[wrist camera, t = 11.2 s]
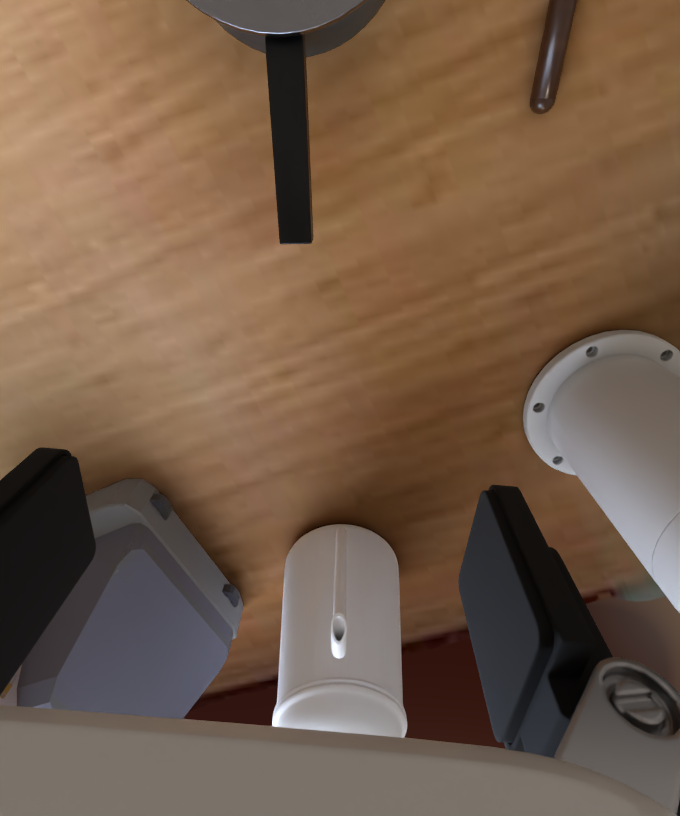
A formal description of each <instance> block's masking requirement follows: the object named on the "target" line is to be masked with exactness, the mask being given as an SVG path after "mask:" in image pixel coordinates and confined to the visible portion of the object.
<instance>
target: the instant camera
mask: <svg viewBox="0 0 680 816" xmlns="http://www.w3.org/2000/svg"><path fill="white" fill-rule="evenodd" d="M86 500H87V505H88V510H89V514H90V519H91V524H92V528H93V533H94V538H95V542H96V551H95V555H94V558H93V560H92V562H91V563H90V564H89V566H88V567H87V569H86V570H85V572H84V573H83V575H82V576H81V578H80V579H79V581H78V582H77V584H76V585H75V587H74V588H73V589H72V591H71V592H70V594H69V595H68V597H67V598H66V600H65V601H64V603H63V604H62V606H61V607H60V609H59V610H58V611H57V613H56V614H55V616H54V617H53V619H52V620H51V622H50V623H49V625H48V626H47V628H46V629H45V631H44V632H43V634H42V635H41V636H40V638H39V639H38V641H37V642H36V644H35V645H34V647H33V648H32V650H31V651H30V653H29V654H28V656H27V657H26V659H25V660H24V661H23V663H22V664H21V666H20V667H19V669H18V670H17V672H16V673H15V675H14V676H13V678H12V679H11V681H10V682H9V684H8V685H7V686H6V688H5V689H4V691H3V692H2V693H1V695H0V705H7V706H21V707H34V708H47V709H61V710H74V711H87V712H100V713H114V714H126V715H139V716H151V717H164V718H176V719H183V718H184V716H185V715H186V714H187V713H188V711H189V710H190V709H191V707H192V706H193V705H194V704H195V702H196V701H197V700H198V698H199V697H200V696H201V694H202V693H203V692H204V691H205V689H206V688H207V687H208V685H209V684H210V683H211V682H212V680H213V679H214V678H215V676H216V675H217V674H218V673H219V671H220V670H221V668H222V666H223V664H224V662H225V661H226V659H227V657H228V653H229V649H230V646H231V642H232V639H234V638H236V636H237V632H238V628H239V624H240V620H241V615H242V611H243V604H242V598H241V597H240V593H239V591H238V590H237V589H236V587H235V586H233V585H232V584H230V583H229V581H228V580H227V579H226V578H225V576H224V575H223V574H222V572H221V571H220V570H219V569H218V567H217V566H216V565H215V563H214V562H213V561H212V560H211V558H210V557H209V556H208V554H207V553H206V552H205V551H204V549H203V548H202V547H201V545H200V544H199V543H198V542H197V540H196V539H195V538H194V536H193V535H192V534H191V533H190V531H189V530H188V529H187V527H186V526H185V525H184V524H183V522H182V521H181V520H180V518H179V517H178V516H177V515H176V513H175V512H174V511H173V509H172V505H171V503H170V502H169V501H168V499H167V498H166V497H165V496H164V495H162V494H160V493H159V491H158V490H157V489H156V488H155V487H154V486H152V485H151V484H149V483H148V482H146V481H145V480H143V479H124V480H122V481H119V482H117V483H115V484H112V485H110V486H108V487H105V488H103V489H100V490H98V491H96V492H93V493H91V494H89V495H86Z"/></svg>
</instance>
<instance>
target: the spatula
mask: <svg viewBox="0 0 680 816" xmlns="http://www.w3.org/2000/svg"><path fill="white" fill-rule="evenodd" d="M576 3H577V0H550V2H549V7H548V12H547V17H546V23H545V28H544V33H543V38H542V43H541V48H540V53H539V58H538V63H537V68H536V73H535V78H534V83H533V88H532V93H531V98H530V107H531V109H532V111H533V112H535V113H537V114H543V113H546V112H548V111H549V110H550V109H551V108H552V106H553V105H554V103H555V99H556V95H557V90H558V86H559V81H560V76H561V72H562V67H563V63H564V58H565V54H566V49H567V44H568V40H569V35H570V31H571V26H572V22H573V17H574V12H575V8H576Z"/></svg>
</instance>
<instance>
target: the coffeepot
mask: <svg viewBox="0 0 680 816" xmlns="http://www.w3.org/2000/svg"><path fill="white" fill-rule="evenodd" d="M272 726H274V727H286V728H297V729H309V730H320V731H332V732H344V733H355V734H367V735H378V736H390V737H401V738H404V736H405V734H406V731H407V720H406V713H405V710H404V707H403V698H402V667H401V632H400V599H399V568H398V562H397V558H396V555H395V553H394V551H393V550H392V548H391V547H390V545H389V544H388V543H387V542H386V541H385V540H384V539H383V538H382V537H380V536H379V535H377V534H376V533H374V532H372V531H370V530H368V529H365V528H362V527H359V526H354V525H347V524H335V525H328V526H323V527H320V528H317V529H315V530H312V531H310V532H308V533H307V534H305V535H304V536H302V537H301V538H300V539H299V540H298V541H297V542H296V543H295V544H294V545H293V546H292V548H291V549H290V551H289V553H288V555H287V558H286V562H285V572H284V589H283V607H282V625H281V642H280V660H279V678H278V696H277V704H276V706H275V709H274V712H273V720H272Z"/></svg>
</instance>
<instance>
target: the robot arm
mask: <svg viewBox="0 0 680 816" xmlns="http://www.w3.org/2000/svg"><path fill="white" fill-rule="evenodd" d="M588 348H589V349H588ZM587 349H588V350H587ZM523 424H524V431H525V434H526V436H527V439H528V441H529V443H530V445H531V446H532V448H533V449H534V451H535V452H536V454H537V455H538V456H539V457H540V458H541V459H542V460H543V461H544V462H545V463H547V464H548V465H549V466H551V467H552V468H555V469H557V470H559V471H562V472H564V473H568V474H572V475H577V476H578V477H579V479H580V480H581V481H582V483H583V484H584V485H585V487H586V488H587V490H588V491H589V492H590V494H591V495H592V496H593V498H594V499H595V500H596V502H597V503H598V504H599V506H600V507H601V509H602V510H603V511H604V513H605V514H606V515H607V517H608V518H609V519H610V521H611V522H612V523H613V525H614V526H615V528H616V529H617V530H618V532H619V533H620V534H621V536H622V537H623V538H624V540H625V541H626V542H627V544H628V545H629V547H630V548H631V549H632V551H633V552H634V553H635V555H636V556H637V557H638V559H639V560H640V561H641V563H642V564H643V566H644V567H645V568H646V570H647V571H648V572H649V574H650V575H651V576H652V578H653V579H654V580H655V582H656V583H657V584H658V586H659V587H660V588H661V590H662V591H663V592H664V594H665V595H666V596H667V598H668V599H669V600H670V602H671V603H672V604H673V606H674V607H675V608H676V609H677V610H678V612H679V613H680V351H679V350H678V349H677V348H675V347H674V346H672V345H671V344H670V343H668V342H667V341H665V340H663V339H661V338H659V337H657V336H655V335H653V334H649V333H645V332H641V331H636V330H616V331H608V332H603V333H599V334H596V335H593V336H589V337H587V338H585V339H582V340H580V341H578V342H576V343H574V344H572V345H571V346H569V347H568V348H566V349H565V350H563V351H562V352H560V353H559V354H557V355H556V356H555V357H554V358H553V359H552V360H551V361H550V362H549V363H548V364H547V365H546V366H545V367H544V368H543V369H542V371H541V372H540V373H539V374H538V376H537V377H536V378H535V380H534V382H533V384H532V386H531V388H530V389H529V391H528V394H527V397H526V401H525V404H524V411H523ZM95 551H96V542H95V538H94V533H93V528H92V524H91V519H90V514H89V510H88V505H87V500H86V496H85V491H84V486H83V482H82V477H81V472H80V468H79V463H78V460H77V458H76V457H73V456H71V453H70V452H69V451H68V450H65V449H54V448H38V449H36V450H35V451H34V452H32V453H31V454H30V455H29V456H28V457H27V458H25V459H24V460H23V461H22V462H21V463H20V464H19V465H17V466H16V467H15V468H14V469H13V470H12V471H11V472H9V473H8V474H7V475H6V476H5V477H4V478H2V479H1V480H0V695H1V693H2V692H3V691H4V689H5V688H6V686H7V685H8V684H9V682H10V681H11V679H12V678H13V676H14V675H15V673H16V672H17V670H18V669H19V667H20V666H21V664H22V663H23V661H24V660H25V659H26V657H27V656H28V654H29V653H30V651H31V650H32V648H33V647H34V645H35V644H36V642H37V641H38V639H39V638H40V636H41V635H42V634H43V632H44V631H45V629H46V628H47V626H48V625H49V623H50V622H51V620H52V619H53V617H54V616H55V614H56V613H57V611H58V610H59V609H60V607H61V606H62V604H63V603H64V601H65V600H66V598H67V597H68V595H69V594H70V592H71V591H72V589H73V588H74V587H75V585H76V584H77V582H78V581H79V579H80V578H81V576H82V575H83V573H84V572H85V570H86V569H87V567H88V566H89V564H90V563H91V562H92V560H93V558H94V555H95ZM459 591H460V595H461V599H462V604H463V608H464V612H465V616H466V620H467V625H468V629H469V633H470V637H471V641H472V645H473V650H474V653H475V658H476V662H477V666H478V670H479V675H480V678H481V683H482V687H483V691H484V695H485V699H486V704H487V708H488V712H489V716H490V720H491V724H492V728H493V733H494V736H495V738H496V740H497V741H498V742H504V744H505V748H506V749H501V748H495V747H487V746H478V745H469V744H459V743H449V742H440V741H430V740H421V739H411V738H401V737H390V736H378V735H367V734H355V733H344V732H332V731H320V730H309V729H297V728H286V727H274V726H262V725H261V726H260V725H249V724H238V723H224V722H212V721H201V720H189V719H176V718H164V717H151V716H139V715H126V714H114V713H100V712H87V711H74V710H61V709H47V708H34V707H21V706H7V705H0V816H680V694H679V693H678V691H677V690H676V689H675V688H674V687H673V686H672V685H671V684H670V683H669V682H668V681H667V680H665V678H663V677H662V676H660V675H659V674H658V673H656V672H655V671H653V670H652V669H650V668H649V667H647V666H644V665H642V664H640V663H638V662H636V661H633V660H629V659H625V658H613V657H612V655H611V652H610V651H609V649H608V647H607V645H606V643H605V641H604V639H603V637H602V635H601V633H600V631H599V629H598V628H597V626H596V624H595V622H594V620H593V618H592V616H591V614H590V612H589V610H588V608H587V606H586V605H585V603H584V601H583V599H582V597H581V595H580V593H579V591H578V589H577V587H576V585H575V583H574V582H573V580H572V578H571V576H570V574H569V572H568V570H567V568H566V566H565V564H564V562H563V560H562V559H561V557H560V555H559V554H558V552H557V551H556V550H555V549H553V548H551V547H548V545H547V543H546V541H545V539H544V537H543V535H542V533H541V531H540V529H539V527H538V525H537V523H536V521H535V519H534V517H533V515H532V513H531V511H530V509H529V507H528V505H527V503H526V501H525V499H524V497H523V495H522V493H521V491H520V490H519V488H518V487H513V486H501V485H491V486H490V488H489V490H488V491H485V490H483V491H482V492H481V494H480V497H479V501H478V505H477V509H476V513H475V516H474V520H473V524H472V528H471V532H470V536H469V539H468V543H467V547H466V551H465V555H464V558H463V562H462V566H461V570H460V574H459Z"/></svg>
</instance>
